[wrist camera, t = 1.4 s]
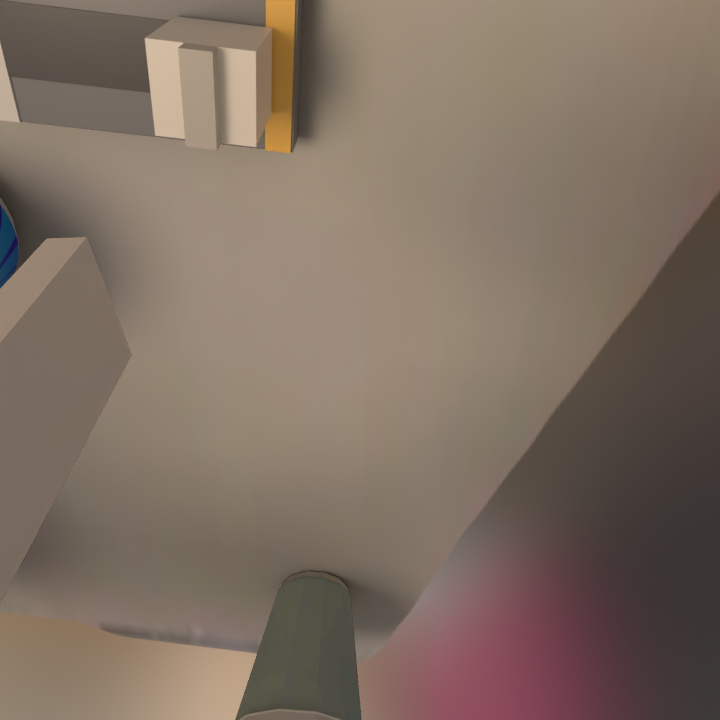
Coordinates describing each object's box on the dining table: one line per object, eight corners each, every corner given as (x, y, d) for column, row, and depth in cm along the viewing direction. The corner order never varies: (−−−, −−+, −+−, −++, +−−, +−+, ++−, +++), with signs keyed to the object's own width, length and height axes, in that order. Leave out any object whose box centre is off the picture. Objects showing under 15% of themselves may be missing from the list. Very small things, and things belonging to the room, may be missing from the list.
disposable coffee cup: (312, 628, 61) (296, 806, 50) (231, 582, 57) (191, 768, 45) (393, 592, 57) (396, 779, 45) (312, 539, 52) (291, 734, 40)
